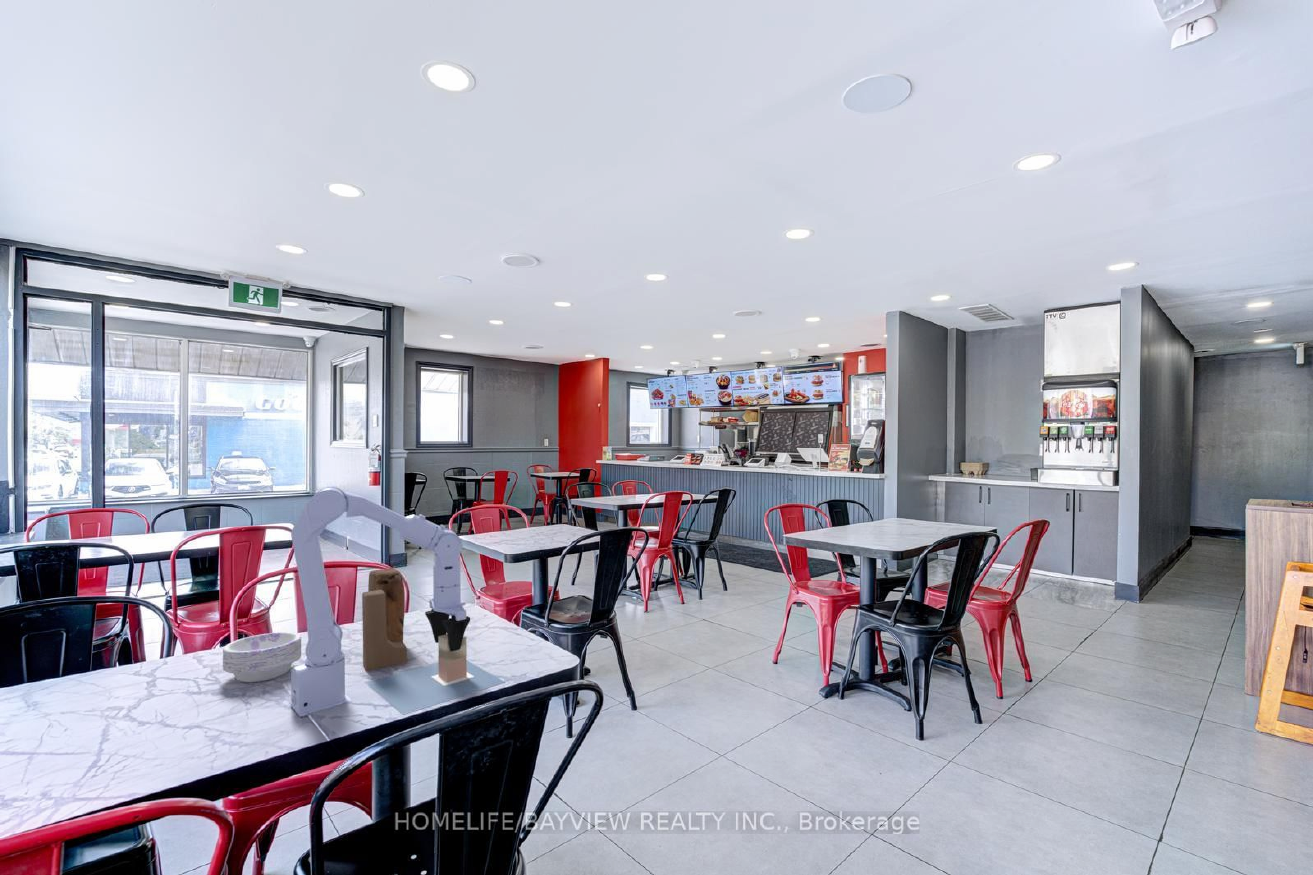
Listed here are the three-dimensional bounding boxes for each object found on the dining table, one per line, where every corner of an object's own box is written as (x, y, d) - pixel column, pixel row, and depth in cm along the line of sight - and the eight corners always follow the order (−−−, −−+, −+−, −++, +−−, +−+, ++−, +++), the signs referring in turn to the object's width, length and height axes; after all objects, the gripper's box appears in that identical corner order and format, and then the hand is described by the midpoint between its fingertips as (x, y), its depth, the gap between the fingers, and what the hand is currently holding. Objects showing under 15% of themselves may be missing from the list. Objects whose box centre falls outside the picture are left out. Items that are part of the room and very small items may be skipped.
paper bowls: (283, 658, 151) (282, 626, 151) (314, 671, 142) (313, 637, 142) (211, 679, 138) (210, 644, 138) (240, 694, 129) (240, 657, 129)
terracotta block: (447, 682, 133) (447, 661, 133) (438, 676, 136) (438, 656, 136) (466, 676, 136) (466, 656, 136) (457, 671, 139) (457, 651, 139)
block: (366, 645, 159) (365, 569, 159) (396, 639, 164) (395, 565, 164) (377, 657, 150) (375, 576, 150) (408, 650, 155) (407, 572, 155)
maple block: (447, 661, 133) (446, 641, 133) (438, 656, 136) (438, 636, 136) (466, 656, 136) (466, 636, 136) (457, 651, 139) (457, 631, 139)
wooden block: (403, 659, 149) (402, 586, 148) (407, 665, 145) (406, 590, 145) (362, 668, 143) (361, 592, 143) (366, 674, 140) (365, 596, 140)
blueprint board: (403, 717, 117) (403, 714, 117) (365, 684, 134) (365, 681, 134) (505, 684, 133) (505, 681, 133) (460, 658, 149) (460, 656, 149)
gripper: (479, 587, 133) (479, 649, 133) (450, 576, 143) (450, 634, 143) (447, 593, 128) (448, 657, 128) (420, 581, 138) (420, 641, 138)
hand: (447, 645), depth 135 cm, fingers open, 7 cm apart
